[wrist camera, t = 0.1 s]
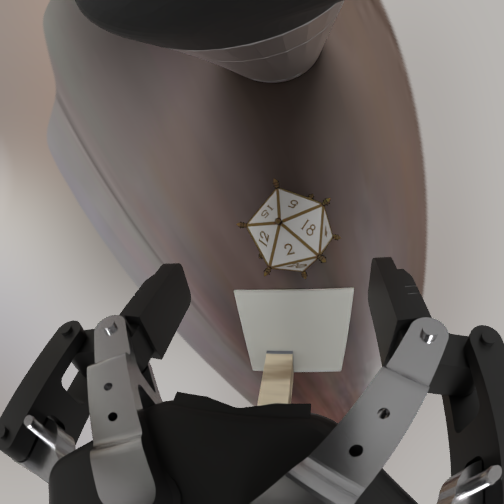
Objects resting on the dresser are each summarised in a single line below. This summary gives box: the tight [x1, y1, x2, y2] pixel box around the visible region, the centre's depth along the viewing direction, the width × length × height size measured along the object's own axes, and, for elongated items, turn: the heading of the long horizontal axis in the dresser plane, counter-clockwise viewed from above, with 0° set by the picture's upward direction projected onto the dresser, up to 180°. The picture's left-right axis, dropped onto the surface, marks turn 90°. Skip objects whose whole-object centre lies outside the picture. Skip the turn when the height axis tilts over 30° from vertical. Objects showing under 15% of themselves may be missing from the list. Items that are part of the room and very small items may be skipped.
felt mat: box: [234, 288, 354, 372], centre depth 37 cm, size 18×15×1 cm
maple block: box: [257, 351, 294, 406], centre depth 36 cm, size 6×4×11 cm, turn 8°
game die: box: [236, 179, 341, 279], centre depth 24 cm, size 9×8×10 cm
